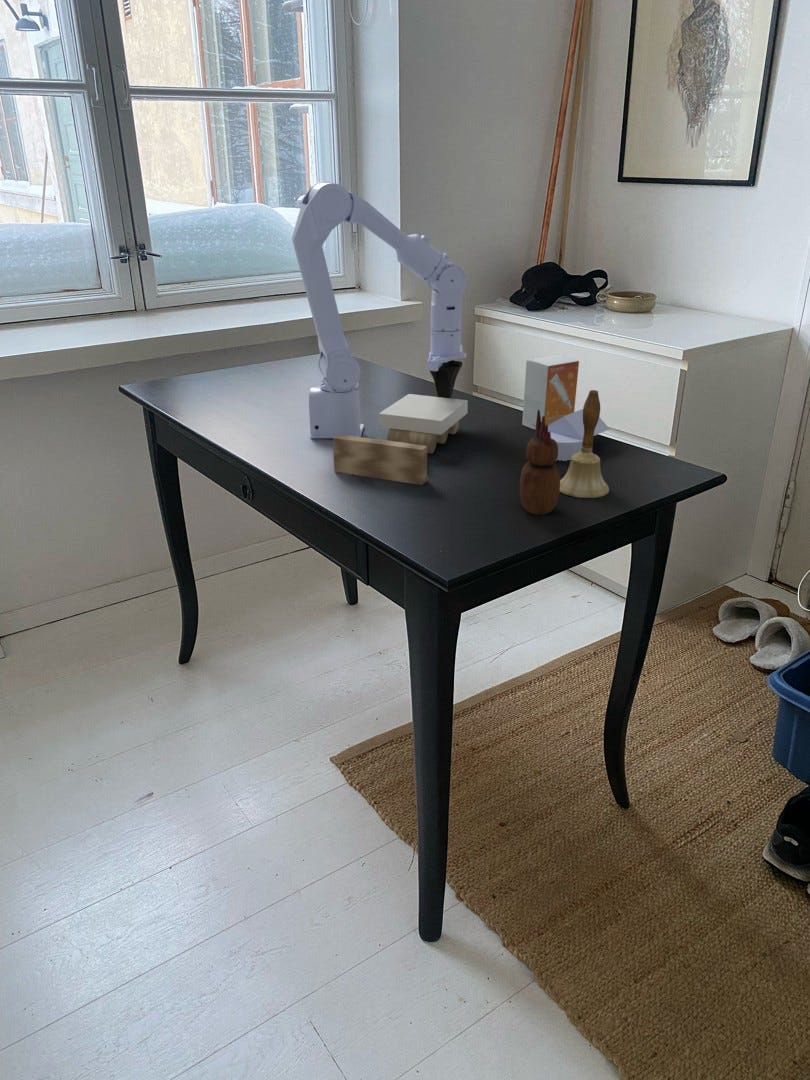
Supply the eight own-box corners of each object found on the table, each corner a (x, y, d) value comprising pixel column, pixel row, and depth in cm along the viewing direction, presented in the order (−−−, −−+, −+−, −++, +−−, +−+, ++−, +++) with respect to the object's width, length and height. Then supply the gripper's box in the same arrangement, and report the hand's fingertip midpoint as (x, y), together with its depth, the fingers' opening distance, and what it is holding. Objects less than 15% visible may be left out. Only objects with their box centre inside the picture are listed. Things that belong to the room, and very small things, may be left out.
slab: (379, 426, 147) (378, 413, 146) (408, 406, 159) (408, 393, 158) (441, 434, 143) (441, 420, 142) (467, 413, 155) (467, 400, 153)
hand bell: (583, 476, 136) (592, 381, 129) (620, 491, 129) (632, 393, 123) (545, 486, 132) (552, 389, 125) (581, 502, 125) (591, 401, 119)
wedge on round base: (566, 436, 155) (525, 452, 146) (569, 401, 152) (527, 416, 143) (608, 446, 149) (567, 464, 141) (611, 411, 146) (571, 427, 138)
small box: (543, 433, 156) (548, 365, 150) (521, 425, 161) (525, 359, 155) (574, 426, 160) (580, 360, 154) (551, 418, 165) (556, 353, 159)
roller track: (366, 466, 140) (366, 444, 138) (420, 425, 161) (420, 406, 159) (409, 472, 137) (409, 450, 136) (458, 430, 158) (459, 410, 156)
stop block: (334, 471, 138) (332, 437, 135) (339, 467, 140) (338, 434, 137) (422, 485, 132) (422, 449, 130) (426, 480, 134) (427, 446, 131)
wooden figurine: (516, 501, 126) (522, 406, 120) (554, 501, 126) (561, 407, 119) (520, 519, 120) (526, 420, 113) (560, 519, 120) (568, 420, 113)
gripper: (453, 338, 146) (451, 411, 152) (478, 323, 158) (475, 392, 164) (416, 335, 149) (416, 407, 154) (444, 321, 161) (442, 388, 167)
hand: (444, 399), depth 159 cm, fingers closed
